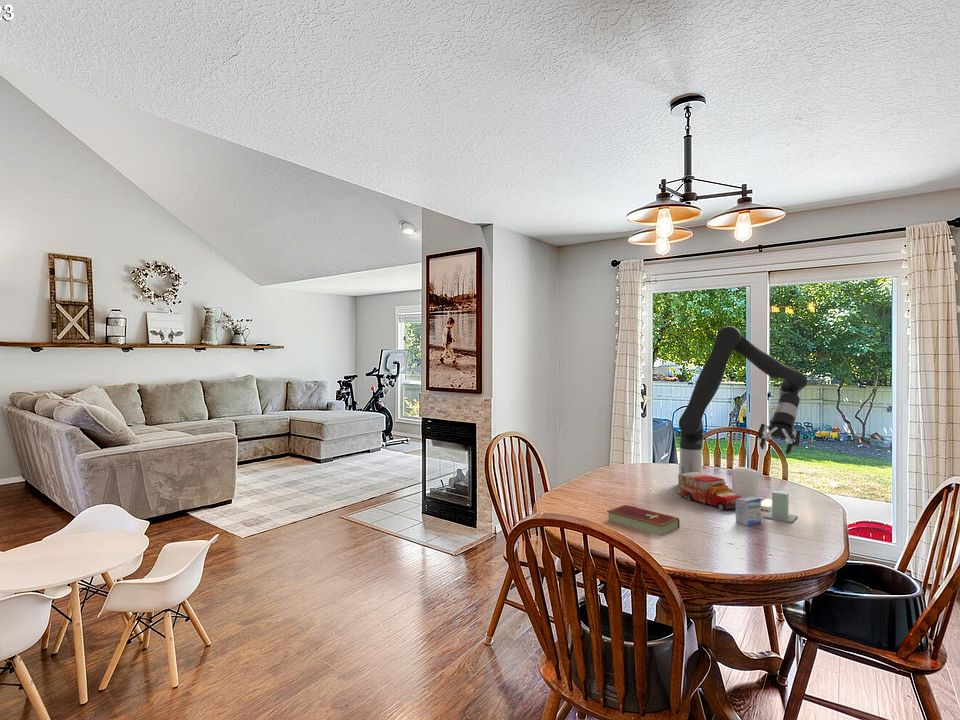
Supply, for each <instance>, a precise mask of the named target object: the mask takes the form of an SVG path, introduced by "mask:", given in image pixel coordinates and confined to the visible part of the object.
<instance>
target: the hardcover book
mask: <svg viewBox="0 0 960 720" xmlns="http://www.w3.org/2000/svg"><path fill="white" fill-rule="evenodd" d="M606 512H607V513H608V521H609V522H613V523H616V524H619V525H623V526H627V527H630V528H634V529H637V530H641V531H644V532H647V533H650V534H655V535H658V536H663V535H665V534H667V533H670V532H671V531H675V530H676V529H680V522H681V521H680V517H676V516H672V515H668V514H664V513H661V512H656V511H652V510H648V509H644V508H639V507H636V506H633V505H629V504H623V505H619V506H617V507H614V508H611V509H608V510H606Z"/></svg>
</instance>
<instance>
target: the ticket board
mask: <svg viewBox="0 0 960 720" xmlns="http://www.w3.org/2000/svg"><path fill="white" fill-rule="evenodd" d="M761 509H763V510H762V511H766V510H768V512H769V511H772V498H771V499H770V498H765V499H763V500H761Z"/></svg>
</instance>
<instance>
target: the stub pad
mask: <svg viewBox="0 0 960 720" xmlns="http://www.w3.org/2000/svg"><path fill="white" fill-rule="evenodd" d="M788 514H789V516H788V517H787V518H783V517H778V516H773V515H772V511H768V512H767V513H765V514H764V515H763V516H762V518H764V519H767V518H769V519H768V520H772V519H773V520H772V521H777V522H783V523H788V522H789V524H793V523H794V522H795V521H796V520H797V519H798V518H797V517H799V516H798V515H795V514H791V513H788ZM796 518H797V519H796ZM795 519H796V520H795ZM794 520H795V521H794ZM793 521H794V522H793ZM792 522H793V523H792Z"/></svg>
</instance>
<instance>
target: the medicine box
mask: <svg viewBox="0 0 960 720" xmlns="http://www.w3.org/2000/svg"><path fill="white" fill-rule="evenodd" d="M761 502H762V499H761V498H760V497H759V498H757V497H752V496H748V497H742V498H738V499H736V509H735V523H736V524H740V525H743V526H745V527H746V526H747V527H748V526H749V525H750V526H753V525H757V524H760V523H762V510H761Z"/></svg>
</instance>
